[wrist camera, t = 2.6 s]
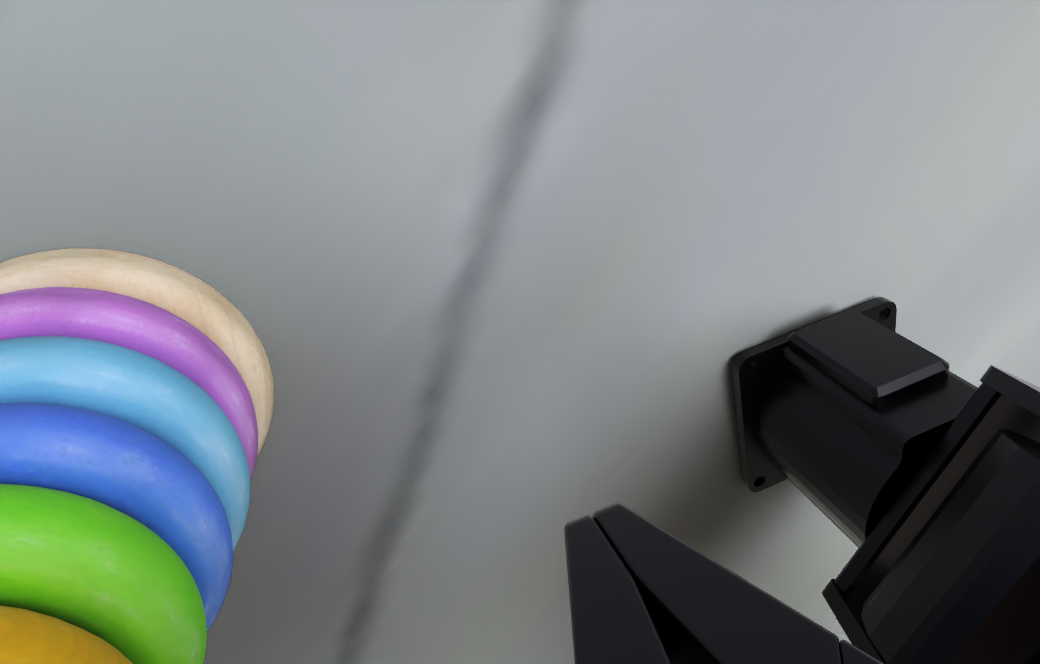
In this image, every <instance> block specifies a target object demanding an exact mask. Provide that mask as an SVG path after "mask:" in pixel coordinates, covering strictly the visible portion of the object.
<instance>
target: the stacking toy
mask: <svg viewBox="0 0 1040 664" xmlns="http://www.w3.org/2000/svg"><path fill="white" fill-rule="evenodd" d="M273 406H274V383H273V377H272V372H271V368H270V364H269V361H268V358H267V354H266V352H265V350H264V348H263V346H262V344H261V341H260V340H259V338H258V336H257V335H256V333H255V331H254V330H253V328H252V327H251V325H250V324H249V322H248V321H247V320H246V319H245V317H244V316H243V315H242V314H241V313H240V311H239V310H238V309H237V308H236V307H235V306H233V305H232V304H231V303H230V302H229V301H228V300H227V299H226V298H225V297H224V296H222V295H221V294H220V293H219V292H218V291H216V290H215V289H214V288H212V287H211V286H209V285H208V284H206V283H205V282H203V281H202V280H200V279H198V278H197V277H195V276H193V275H191V274H189V273H187V272H185V271H183V270H181V269H179V268H177V267H174V266H172V265H169V264H167V263H164V262H161V261H158V260H156V259H152V258H149V257H145V256H141V255H137V254H133V253H128V252H123V251H117V250H106V249H91V248H69V249H58V250H50V251H43V252H37V253H32V254H28V255H24V256H20V257H16V258H13V259H10V260H7V261H4V262H2V263H0V664H203V663H204V660H205V652H206V643H207V631H208V630H209V628H210V627H211V625H212V624H213V622H214V621H215V618H216V616H217V614H218V612H219V610H220V608H221V606H222V604H223V601H224V598H225V595H226V593H227V590H228V587H229V583H230V579H231V573H232V565H233V551H234V549H235V548H236V545H237V543H238V541H239V539H240V536H241V534H242V532H243V529H244V525H245V522H246V518H247V515H248V510H249V502H250V480H251V478H252V474H253V471H254V468H255V464H256V460H257V456H258V454H259V452H260V450H261V449H262V446H263V444H264V442H265V440H266V437H267V434H268V431H269V427H270V424H271V419H272V414H273Z"/></svg>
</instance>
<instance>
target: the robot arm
mask: <svg viewBox="0 0 1040 664" xmlns="http://www.w3.org/2000/svg"><path fill="white" fill-rule="evenodd" d="M896 311H897V309H896V305H895V304H894V302H892V301H890V300H888V299H886V298H883V297H879V298H876V299H873V300H871V301H868V302H866V303H863V304H861V305H858V306H856V307H853V308H851V309H848V310H846V311H843V312H841V313H838V314H836V315H833V316H831V317H828V318H826V319H823V320H821V321H818V322H816V323H813V324H811V325H808V326H806V327H803V328H801V329H798V330H796V331H793V332H791V333H788V334H786V335H783V336H781V337H778V338H776V339H773V340H771V341H768V342H766V343H763V344H761V345H758V346H756V347H753V348H751V349H748V350H746V351H743V352H742V353H740V354H739V355H738V356H737V357H736V358H735V360H734V362H733V366H732V370H733V381H734V392H735V403H736V414H737V425H738V436H739V447H740V458H741V469H742V480H743V483H744V484H745V485H746V486H747V487H748V488H749V490H751V491H753V492H757V491H761V490H763V489H765V488H768V487H770V486H772V485H774V484H777V483H779V482H781V481H784V480H786V479H789V480H790V481H791V482H792V483H793V484H794V485H795V486H796V487H797V488H798V489H799V490H800V491H801V492H802V493H803V494H804V495H805V496H806V497H807V498H808V499H809V500H810V501H811V502H812V503H813V504H814V505H815V506H816V507H817V508H818V509H819V510H820V511H821V512H822V513H823V514H824V515H825V516H827V517H828V518H829V519H830V520H831V521H832V522H833V523H834V524H835V525H836V526H837V527H838V528H839V529H840V530H841V531H842V532H843V533H844V534H845V535H846V536H847V537H848V538H849V539H850V540H851V541H852V542H853V543H854V544H855V545H856V546H857V547H858V550H857V551H856V552H855V554H854V555H853V556H852V558H851V559H850V560H849V562H848V563H847V564H846V566H845V567H844V568H843V570H842V571H841V572H840V574H839V575H838V576H837V578H836V579H831V581H830V582H829V583H828V585H827V586H826V587H825V589H824V590H823V591H822V594H823V596H824V598H825V599H826V601H827V603H828V604H829V606H830V608H831V609H832V611H833V613H834V614H835V616H836V618H837V620H838V622H839V623H840V625H841V627H842V628H843V630H844V632H845V633H846V635H847V637H848V638H849V640H850V642H851V643H852V644H850V643H848V642H847V641H845V640H841V641H840V642H839V639H838V637H837V636H836V635H835V634H833V633H832V632H830V631H828V630H827V629H825V628H823V627H822V626H820V625H818V624H817V623H815V622H814V621H812V620H810V619H809V618H807V617H805V616H804V615H802V614H800V613H799V612H797V611H796V610H794V609H792V608H791V607H789V606H787V605H786V604H784V603H782V602H781V601H779V600H777V599H776V598H774V597H773V596H771V595H769V594H768V593H766V592H764V591H763V590H761V589H759V588H758V587H756V586H754V585H753V584H751V583H750V582H748V581H746V580H745V579H743V578H741V577H740V576H738V575H736V574H735V573H733V572H732V571H730V570H728V569H727V568H725V567H723V566H722V565H720V564H718V563H717V562H715V561H713V560H712V559H710V558H709V557H707V556H705V555H704V554H702V553H700V552H699V551H697V550H695V549H694V548H692V547H690V546H689V545H687V544H686V543H684V542H682V541H681V540H679V539H677V538H676V537H674V536H672V535H671V534H669V533H668V532H666V531H664V530H663V529H661V528H659V527H658V526H656V525H654V524H653V523H651V522H649V521H648V520H646V519H645V518H643V517H641V516H640V515H638V514H636V513H635V512H633V511H631V510H630V509H628V508H627V507H625V506H623V505H621V504H617V503H616V504H612V505H610V506H608V507H605V508H603V509H600V510H598V511H596V512H595V513H594V514H593V516H592V517H591V516H589V515H586V516H584V517H581V518H579V519H576V520H574V521H572V522H569V523H567V524H566V525H565V527H564V533H565V546H566V558H567V571H568V583H569V596H570V609H571V621H572V634H573V646H574V659H575V664H1040V388H1039V387H1037V386H1035V385H1033V384H1031V383H1029V382H1026V381H1024V380H1022V379H1020V378H1018V377H1016V376H1014V375H1012V374H1009V373H1007V372H1005V371H1003V370H1001V369H999V368H997V367H994V366H992V365H991V366H990V367H989V368H988V370H987V371H986V372H985V374H984V375H983V377H982V378H981V379H980V381H981V382H982V384H981V385H980V386H979V388H977V387H976V386H974V385H972V384H971V383H969V382H967V381H965V380H964V379H962V378H960V377H958V376H957V375H955V374H953V373H951V372H950V371H949V363H948V362H946V361H945V360H943V359H942V358H940V357H938V356H937V355H935V354H933V353H931V352H929V351H928V350H926V349H924V348H922V347H921V346H919V345H917V344H915V343H913V342H912V341H910V340H908V339H906V338H905V337H903V336H901V335H899V334H897V333H896V332H895V328H896ZM750 362H751V364H750V365H749V366H748V367H747V368H746V366H747V365H748V364H749V363H750ZM745 368H746V369H745Z"/></svg>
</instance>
